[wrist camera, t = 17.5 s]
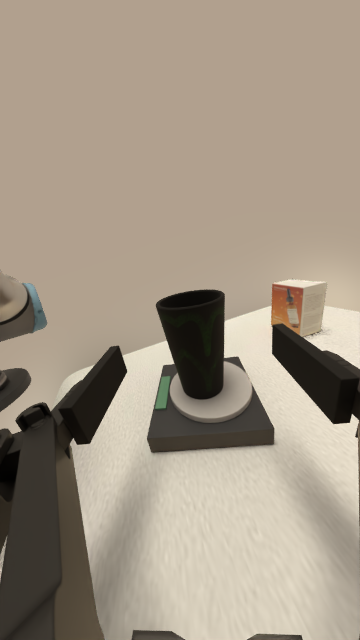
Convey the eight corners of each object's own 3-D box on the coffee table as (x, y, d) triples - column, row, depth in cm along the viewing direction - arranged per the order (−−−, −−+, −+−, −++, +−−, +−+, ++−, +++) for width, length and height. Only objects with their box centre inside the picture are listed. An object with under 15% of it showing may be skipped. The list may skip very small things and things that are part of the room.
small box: (270, 325, 42) (271, 283, 39) (289, 320, 43) (292, 278, 40) (299, 338, 35) (303, 287, 31) (321, 331, 36) (328, 281, 32)
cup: (188, 363, 28) (175, 291, 24) (236, 370, 25) (231, 287, 20) (164, 398, 22) (141, 309, 18) (224, 414, 18) (212, 308, 14)
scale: (151, 452, 19) (144, 433, 18) (165, 375, 31) (162, 361, 30) (274, 444, 18) (274, 423, 17) (238, 367, 30) (237, 352, 29)
